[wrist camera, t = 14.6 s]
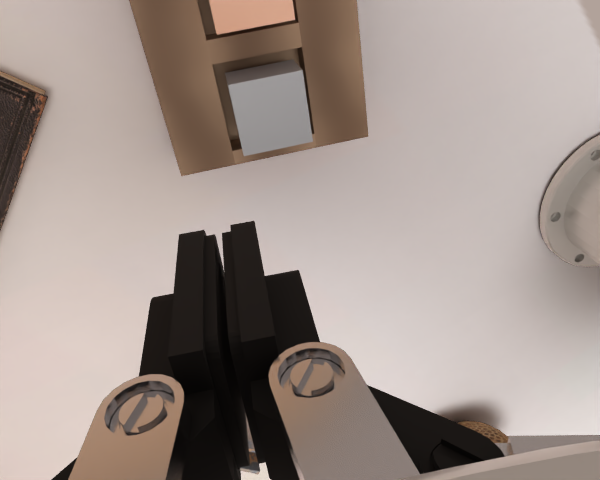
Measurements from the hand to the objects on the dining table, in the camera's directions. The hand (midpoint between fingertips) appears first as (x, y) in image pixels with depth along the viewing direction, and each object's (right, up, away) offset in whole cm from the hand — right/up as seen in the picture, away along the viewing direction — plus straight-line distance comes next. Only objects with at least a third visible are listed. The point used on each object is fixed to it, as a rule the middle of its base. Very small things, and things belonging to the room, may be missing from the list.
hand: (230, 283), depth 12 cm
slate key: (-1, +9, +19) cm, 21 cm away
